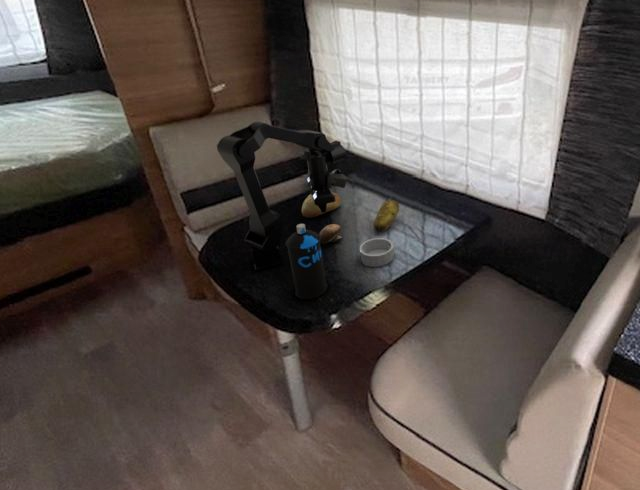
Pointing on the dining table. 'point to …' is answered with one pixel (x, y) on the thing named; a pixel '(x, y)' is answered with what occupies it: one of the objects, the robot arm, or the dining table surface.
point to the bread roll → (313, 210)
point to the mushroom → (330, 233)
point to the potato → (386, 215)
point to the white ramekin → (376, 252)
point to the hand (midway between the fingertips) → (323, 211)
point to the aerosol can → (306, 263)
